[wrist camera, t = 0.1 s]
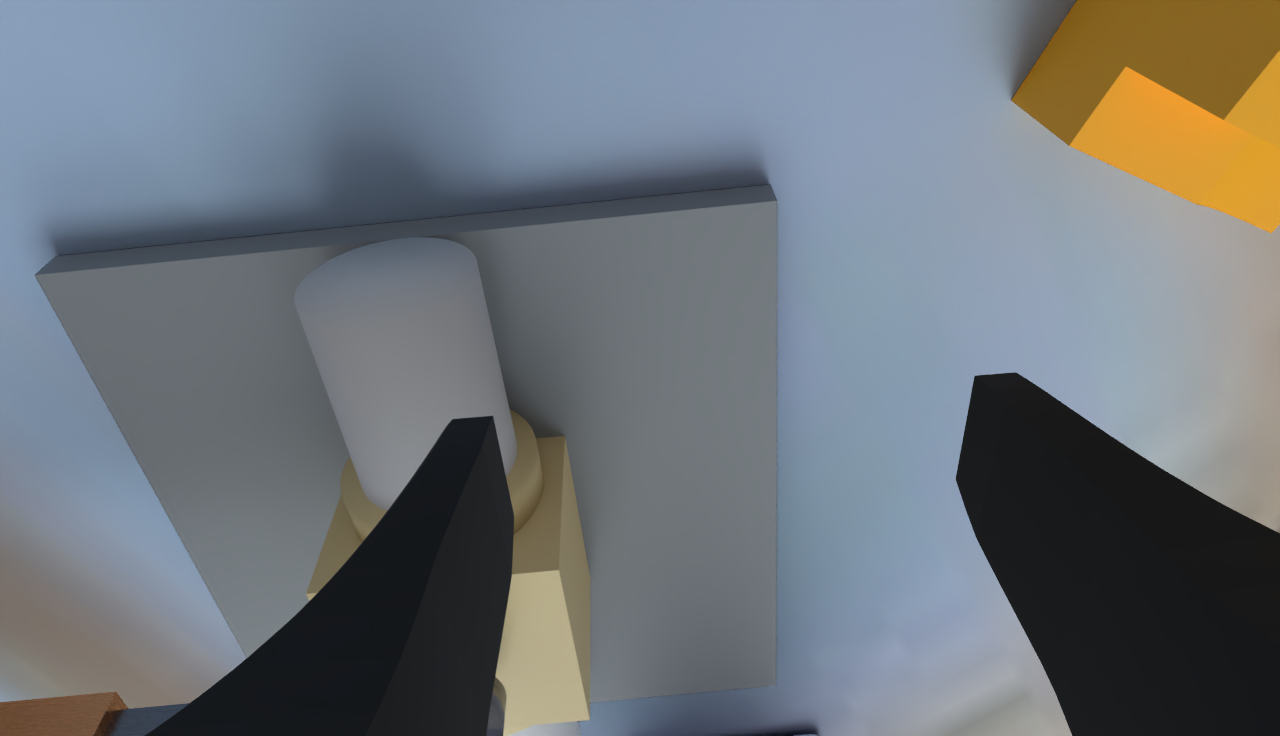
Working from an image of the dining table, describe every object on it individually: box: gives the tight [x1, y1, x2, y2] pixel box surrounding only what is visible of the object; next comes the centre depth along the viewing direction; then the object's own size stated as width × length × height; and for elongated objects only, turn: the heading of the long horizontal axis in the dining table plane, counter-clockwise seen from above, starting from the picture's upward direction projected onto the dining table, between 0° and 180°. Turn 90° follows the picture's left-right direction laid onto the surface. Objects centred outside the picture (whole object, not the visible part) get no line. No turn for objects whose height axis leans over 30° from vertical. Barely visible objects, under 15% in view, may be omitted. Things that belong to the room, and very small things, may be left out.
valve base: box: [35, 185, 777, 736], centre depth 24 cm, size 19×18×7 cm
